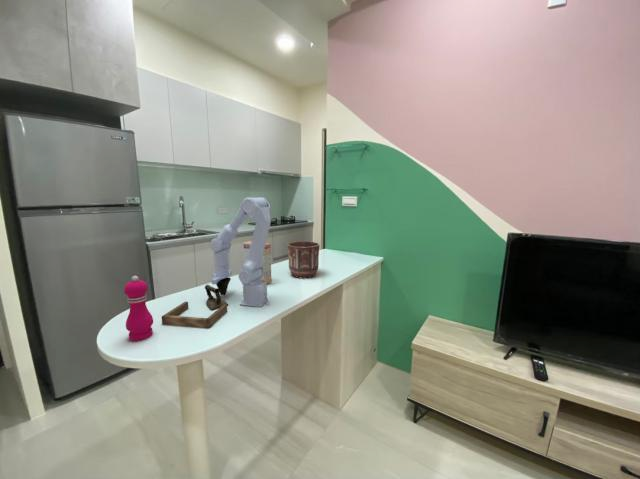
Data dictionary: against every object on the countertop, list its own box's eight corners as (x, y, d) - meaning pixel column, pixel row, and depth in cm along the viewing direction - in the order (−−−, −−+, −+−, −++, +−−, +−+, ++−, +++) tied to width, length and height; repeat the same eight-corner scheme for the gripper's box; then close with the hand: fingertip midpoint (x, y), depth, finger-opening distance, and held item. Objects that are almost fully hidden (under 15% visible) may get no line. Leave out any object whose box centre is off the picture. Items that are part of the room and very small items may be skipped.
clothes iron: (213, 312, 103) (206, 288, 102) (201, 310, 111) (195, 287, 110) (229, 305, 108) (223, 282, 107) (217, 304, 116) (211, 282, 115)
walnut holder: (227, 311, 103) (226, 304, 103) (209, 328, 90) (208, 320, 90) (185, 308, 105) (185, 301, 105) (162, 324, 92) (161, 316, 92)
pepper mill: (136, 330, 88) (129, 272, 85) (158, 330, 89) (153, 272, 85) (121, 342, 81) (114, 279, 78) (146, 341, 81) (140, 279, 78)
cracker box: (272, 282, 137) (271, 243, 134) (263, 286, 132) (262, 244, 129) (252, 277, 145) (251, 240, 141) (244, 280, 140) (243, 241, 136)
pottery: (305, 268, 164) (305, 240, 161) (325, 275, 151) (325, 244, 148) (282, 274, 152) (281, 243, 149) (301, 282, 139) (300, 248, 136)
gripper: (221, 260, 123) (222, 288, 125) (203, 269, 109) (205, 300, 111) (235, 261, 122) (236, 289, 124) (220, 269, 108) (221, 301, 110)
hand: (223, 294), depth 118 cm, fingers closed
